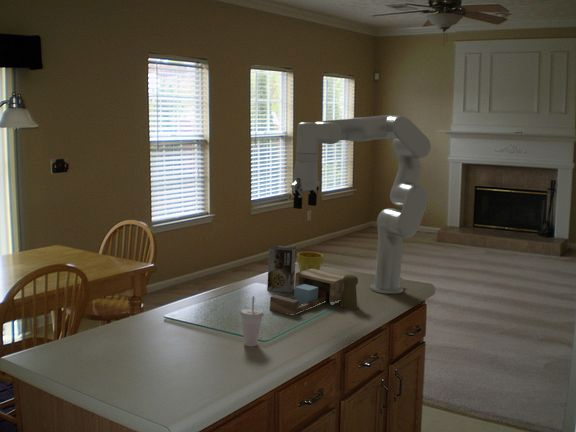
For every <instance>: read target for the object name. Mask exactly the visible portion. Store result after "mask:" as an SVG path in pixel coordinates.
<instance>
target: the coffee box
mask: <svg viewBox="0 0 576 432" xmlns="http://www.w3.org/2000/svg"><path fill="white" fill-rule="evenodd" d="M296 259H297V246H296V247H295V246H288V245H287V246H286V245H277V244H276V245H275V244H273V245H272V246H270V247H269V248H268V264H267V269H268V270H267V286H266V290H267V291H271V292H280V293H288V294H290V293H291V292H293V291H294V289H295V279H296V261H297V260H296Z"/></svg>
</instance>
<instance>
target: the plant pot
mask: <svg viewBox="0 0 576 432" xmlns="http://www.w3.org/2000/svg"><path fill="white" fill-rule="evenodd" d="M296 259H297V260H296V262H297V263H298V268H299V272H301V271H305V270H308V269H316V270H320V269H321V266H322V265H323V263H324V262H323V261H324V254H321V253H319V252H314V251H301V252H298V253H297V254H296Z"/></svg>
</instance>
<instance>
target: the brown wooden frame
mask: <svg viewBox="0 0 576 432" xmlns="http://www.w3.org/2000/svg"><path fill="white" fill-rule="evenodd" d="M327 298H328V296H327V292H326V291H322V290H318V299H316V300H313V301H311V302H308V303H306V304H303V305H299V301H298V300H294V295H292V296H289V297H286V296H281V295H278V294H273V295H272V296H270V297H269V310H270V311H272V312H276V311H277V312H276V313H280V312H282V313H281V314H284V313H288V314H296V313H298V312H300V311H303V310H306V309H308V308H310V307H313V306H315V305H317V304H319V303H322V302H324V301H326V302H327ZM288 314H287V315H288Z"/></svg>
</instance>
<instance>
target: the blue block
mask: <svg viewBox="0 0 576 432" xmlns="http://www.w3.org/2000/svg"><path fill="white" fill-rule="evenodd" d="M293 291H294V293H293V296H294V300H298V301H299V304H306V303H308V302H311V301H313V300H316V299H318V287H315V286H311V285H306V284H302V285H299V286H296V287H295V286H294V290H293Z"/></svg>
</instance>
